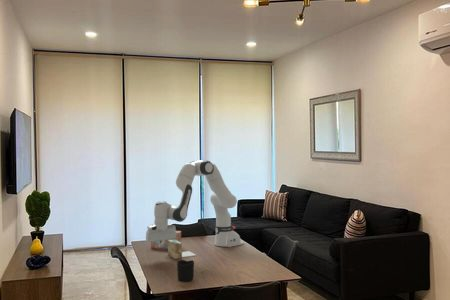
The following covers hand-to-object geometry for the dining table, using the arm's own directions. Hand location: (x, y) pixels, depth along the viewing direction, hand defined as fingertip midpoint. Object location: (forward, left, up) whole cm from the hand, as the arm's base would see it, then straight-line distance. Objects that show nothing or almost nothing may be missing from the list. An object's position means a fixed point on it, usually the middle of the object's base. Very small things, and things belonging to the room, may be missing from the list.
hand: (161, 246), depth 287 cm
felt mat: (-18, 0, -8) cm, 19 cm away
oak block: (-10, 0, -8) cm, 12 cm away
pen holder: (+4, +50, -8) cm, 51 cm away
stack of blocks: (-13, -26, -8) cm, 30 cm away
